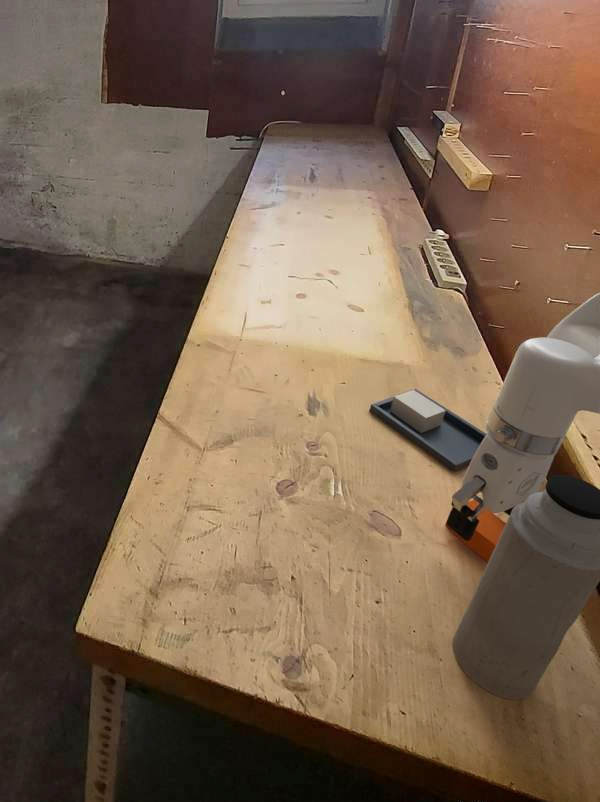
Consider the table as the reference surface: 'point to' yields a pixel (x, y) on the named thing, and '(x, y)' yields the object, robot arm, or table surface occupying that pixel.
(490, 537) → the orange pad
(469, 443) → the tray
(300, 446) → the table surface
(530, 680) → the thermos bottle
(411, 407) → the grey pad
